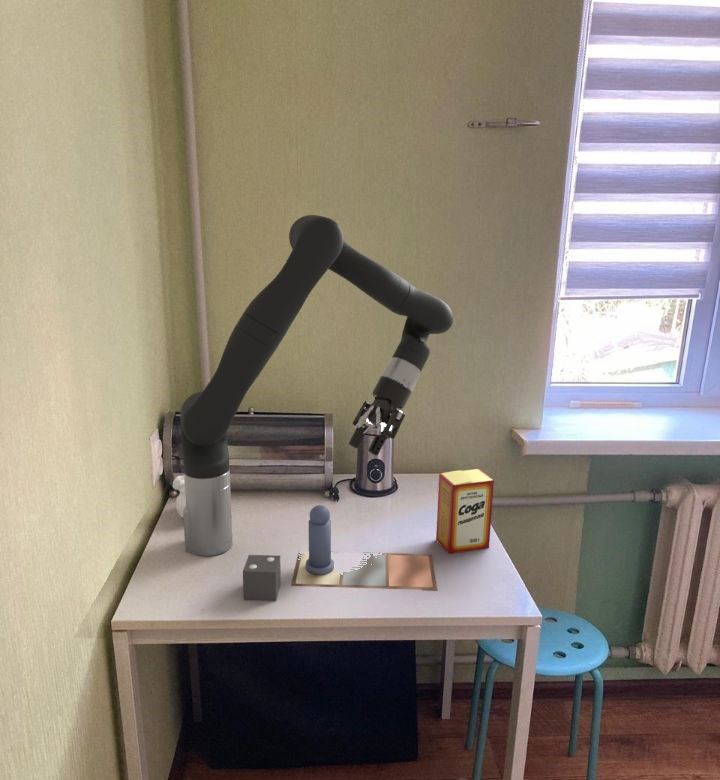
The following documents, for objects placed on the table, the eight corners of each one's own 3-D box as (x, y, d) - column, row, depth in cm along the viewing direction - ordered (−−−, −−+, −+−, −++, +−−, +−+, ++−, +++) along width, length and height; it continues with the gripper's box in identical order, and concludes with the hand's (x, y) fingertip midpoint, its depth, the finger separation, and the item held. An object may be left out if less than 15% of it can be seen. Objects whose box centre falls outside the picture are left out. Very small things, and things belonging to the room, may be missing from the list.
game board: (290, 588, 127) (290, 585, 127) (298, 553, 140) (298, 550, 140) (437, 592, 127) (437, 589, 127) (431, 556, 140) (431, 554, 140)
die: (243, 600, 122) (242, 570, 121) (249, 582, 128) (248, 554, 127) (276, 601, 122) (275, 571, 121) (280, 583, 128) (280, 555, 126)
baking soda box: (474, 534, 149) (479, 467, 145) (489, 547, 143) (494, 478, 139) (436, 539, 146) (439, 471, 142) (448, 554, 140) (452, 483, 136)
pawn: (304, 574, 131) (303, 512, 127) (307, 560, 136) (306, 499, 133) (332, 575, 131) (333, 512, 127) (334, 561, 136) (334, 500, 133)
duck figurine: (193, 513, 162) (161, 481, 158) (217, 494, 162) (186, 461, 158) (189, 536, 150) (155, 502, 147) (215, 516, 150) (181, 481, 147)
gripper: (367, 372, 148) (333, 437, 145) (402, 377, 135) (365, 448, 133) (391, 388, 151) (359, 451, 149) (427, 394, 139) (392, 464, 136)
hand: (362, 450), depth 141 cm, fingers open, 8 cm apart
